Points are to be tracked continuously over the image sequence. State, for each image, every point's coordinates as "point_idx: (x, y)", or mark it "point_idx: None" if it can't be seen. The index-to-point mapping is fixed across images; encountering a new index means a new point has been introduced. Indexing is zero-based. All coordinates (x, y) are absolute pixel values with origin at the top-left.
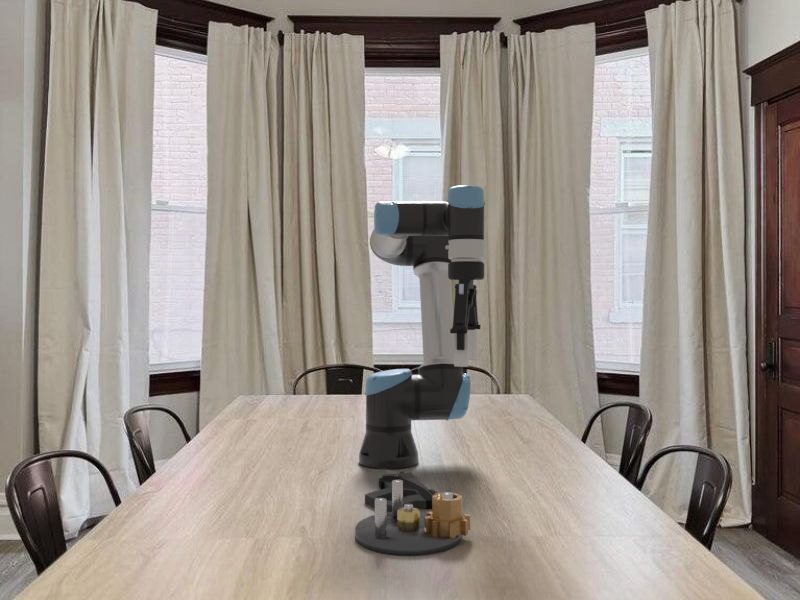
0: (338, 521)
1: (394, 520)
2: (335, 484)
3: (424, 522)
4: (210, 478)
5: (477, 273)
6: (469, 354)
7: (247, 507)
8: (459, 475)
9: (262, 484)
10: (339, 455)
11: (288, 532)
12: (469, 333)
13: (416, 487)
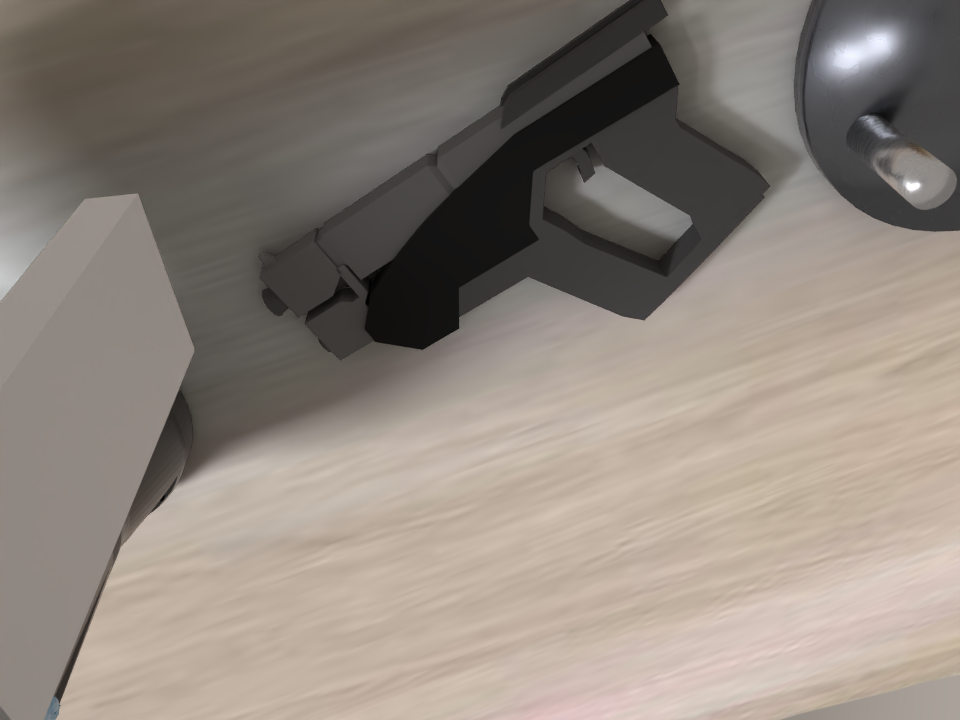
0: (839, 306)
1: (925, 125)
2: (448, 456)
3: (952, 4)
4: (505, 706)
5: None
6: (150, 331)
7: (736, 547)
8: (91, 79)
9: (519, 604)
10: None
11: (944, 384)
12: (15, 602)
13: (499, 180)
